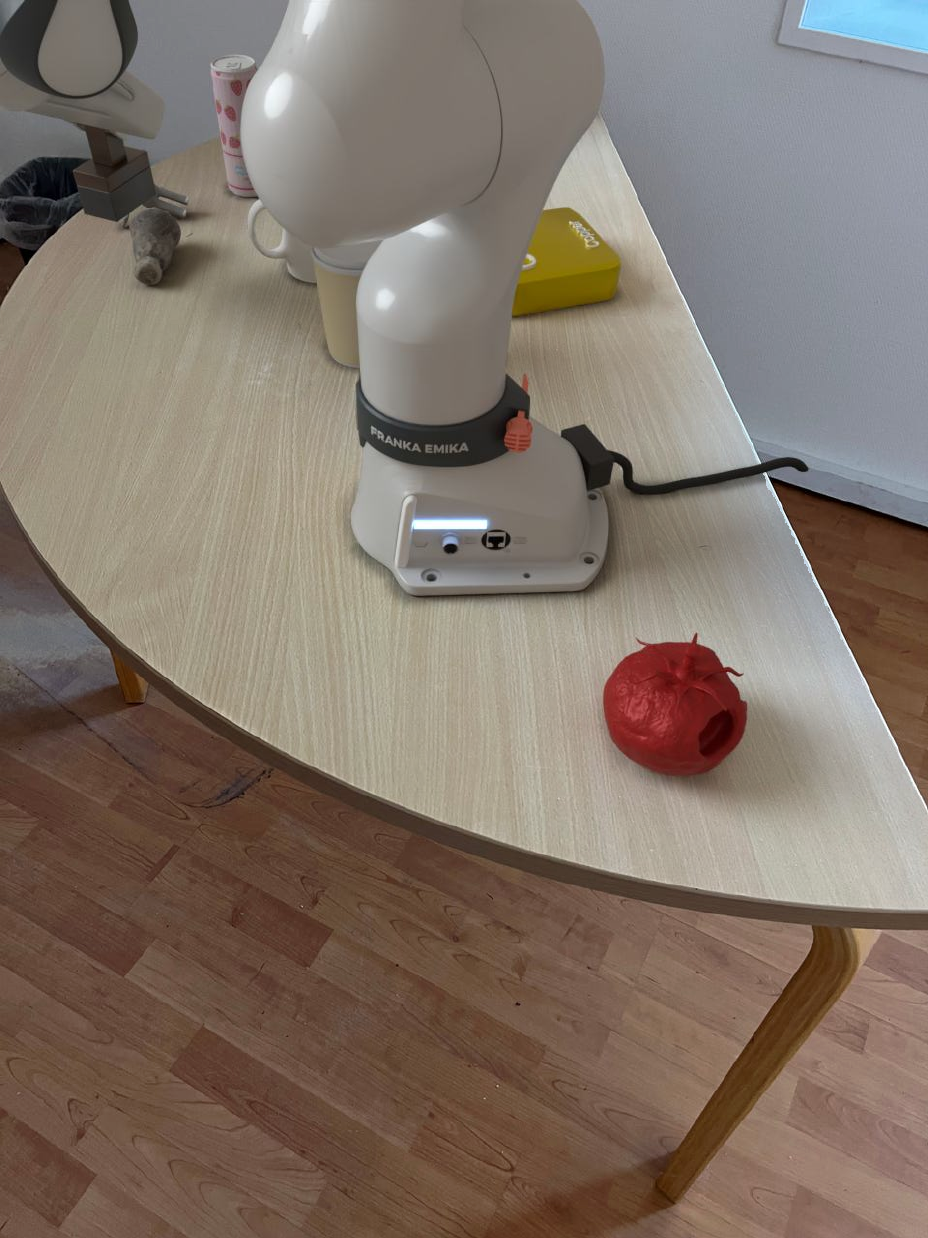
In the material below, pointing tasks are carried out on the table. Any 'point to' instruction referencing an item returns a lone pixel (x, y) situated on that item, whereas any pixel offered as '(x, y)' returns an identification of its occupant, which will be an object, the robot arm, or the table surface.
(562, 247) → the element tile
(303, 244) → the mug
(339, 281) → the coffee cup
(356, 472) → the table surface
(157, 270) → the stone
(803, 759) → the table surface
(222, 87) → the beverage can
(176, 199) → the elephant figurine
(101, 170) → the brush
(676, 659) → the red tomato
